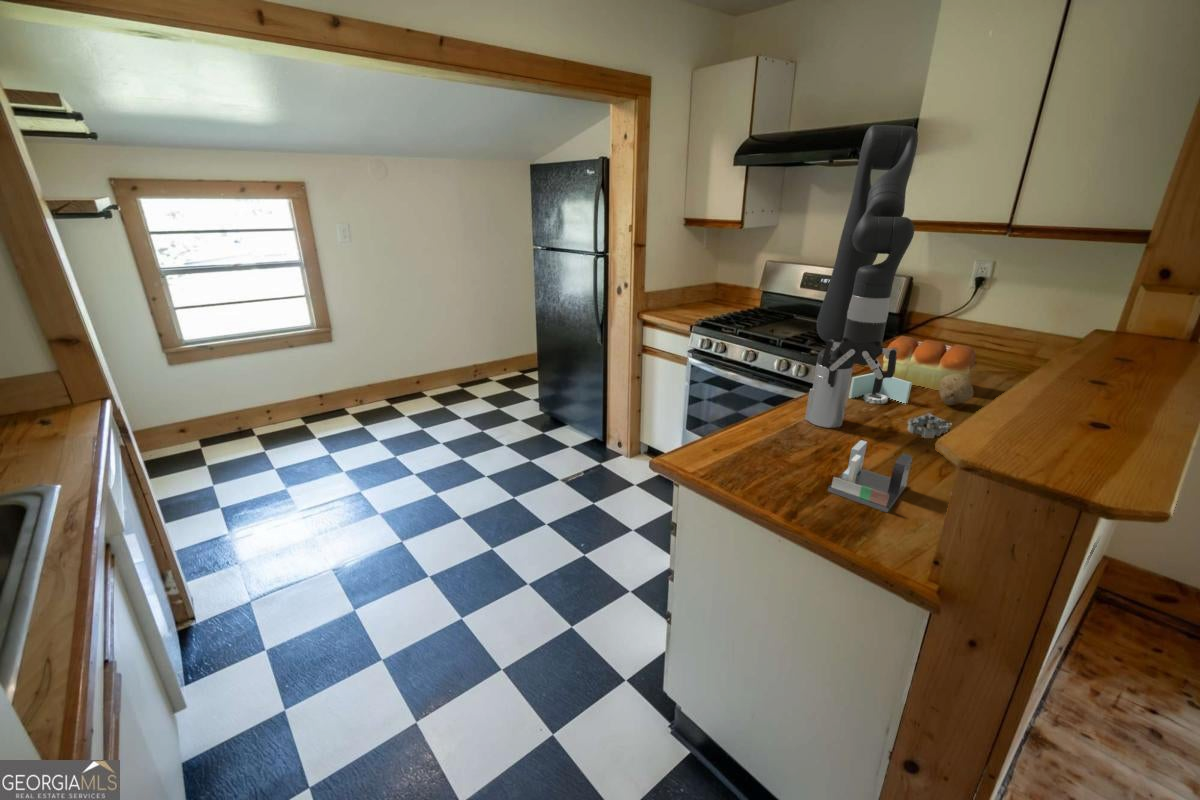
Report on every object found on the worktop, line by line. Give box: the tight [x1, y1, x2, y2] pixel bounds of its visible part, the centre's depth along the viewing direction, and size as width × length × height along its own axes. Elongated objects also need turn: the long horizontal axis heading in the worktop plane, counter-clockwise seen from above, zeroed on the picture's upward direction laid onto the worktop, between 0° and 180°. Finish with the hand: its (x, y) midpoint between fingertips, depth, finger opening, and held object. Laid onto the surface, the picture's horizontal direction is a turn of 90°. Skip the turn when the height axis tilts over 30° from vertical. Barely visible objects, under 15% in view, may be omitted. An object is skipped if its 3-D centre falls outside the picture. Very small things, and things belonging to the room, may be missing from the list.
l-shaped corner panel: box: [847, 372, 913, 405], centre depth 163 cm, size 12×12×8 cm
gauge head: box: [842, 439, 868, 480], centre depth 115 cm, size 1×10×7 cm, turn 137°
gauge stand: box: [827, 453, 914, 513], centre depth 113 cm, size 12×14×8 cm
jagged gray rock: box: [906, 412, 953, 439], centre depth 142 cm, size 11×8×4 cm
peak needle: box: [847, 454, 861, 483], centre depth 111 cm, size 1×4×7 cm, turn 138°
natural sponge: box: [938, 374, 974, 406], centre depth 159 cm, size 9×9×10 cm
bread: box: [882, 335, 977, 391], centre depth 178 cm, size 25×12×15 cm, turn 47°
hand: (852, 390), depth 114 cm, fingers open, 8 cm apart
